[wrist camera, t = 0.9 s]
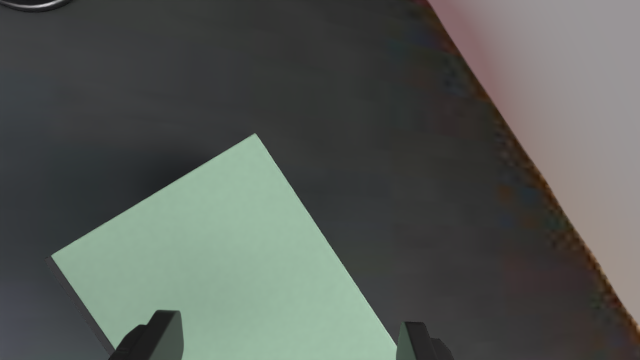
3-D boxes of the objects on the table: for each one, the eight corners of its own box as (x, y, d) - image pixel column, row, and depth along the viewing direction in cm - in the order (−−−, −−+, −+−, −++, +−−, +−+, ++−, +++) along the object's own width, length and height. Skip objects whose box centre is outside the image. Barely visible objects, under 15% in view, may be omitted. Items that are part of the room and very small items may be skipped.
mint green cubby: (244, 384, 31) (240, 545, 16) (145, 238, 30) (43, 259, 15) (342, 307, 33) (420, 382, 18) (252, 171, 33) (255, 132, 18)
